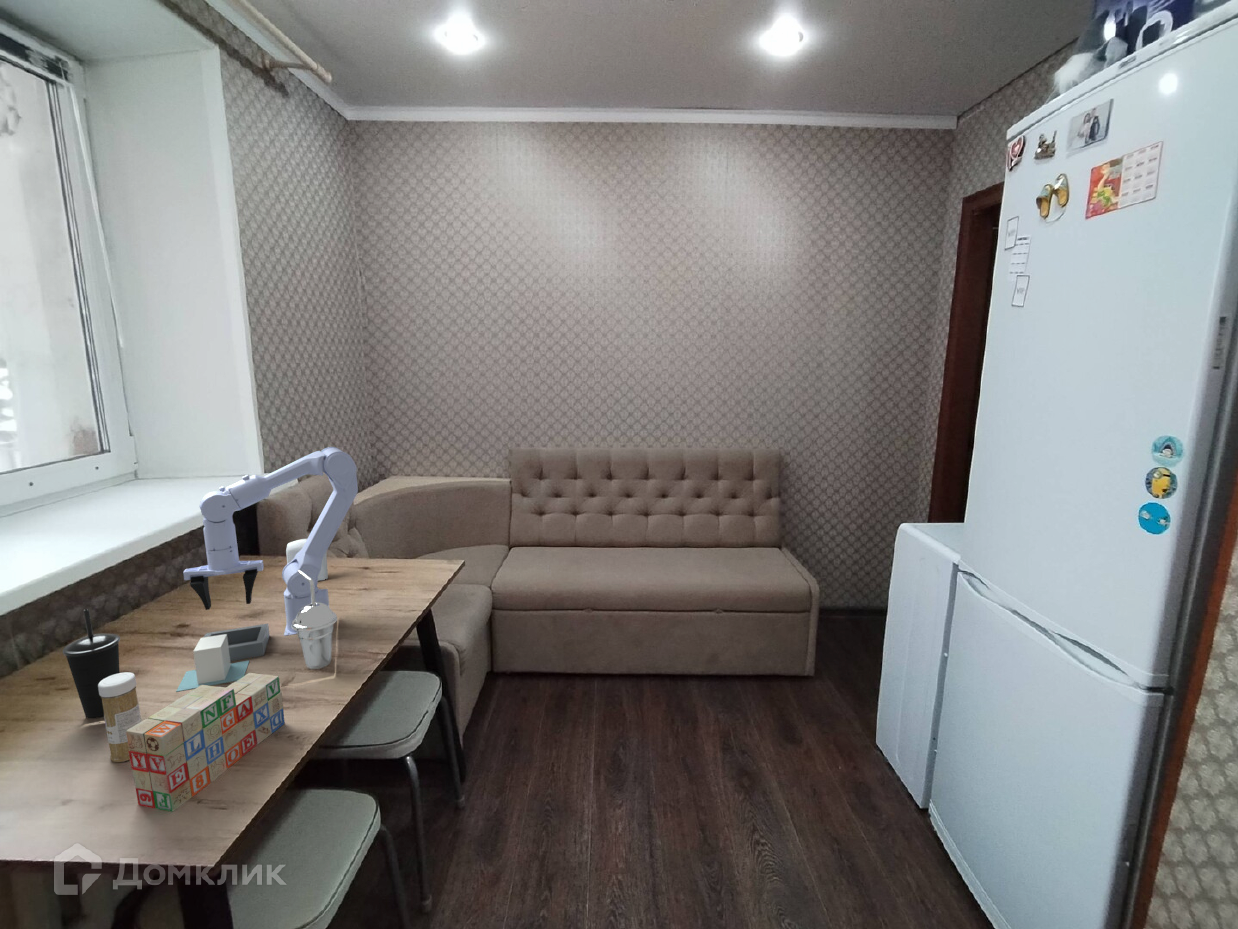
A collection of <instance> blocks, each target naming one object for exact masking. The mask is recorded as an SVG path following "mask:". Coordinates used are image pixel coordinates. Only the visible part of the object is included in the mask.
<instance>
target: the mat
mask: <svg viewBox="0 0 1238 929" xmlns="http://www.w3.org/2000/svg"><path fill="white" fill-rule="evenodd" d="M230 663H231V662H230ZM249 663H250V660H243V661H238V662H232V663H231V666H230V668H229V671H228V673H227V676H226V678H225V680H219V681H214V682H208V683H203V684H198V682H197V675H196V669H192V670H186V672H185V673H184V675H183V678H182V680H181V681H180V683H179V685H178V687H177V689H176V691H175V692H176V693H178V692H182V691H188V690H189V691H191V690H194V689H196V688H197V687H199V686H201V685H208V686H215V685H221V684H226V683H227V684H228V683H231V682H232V683H234V682H236V681H237V680H239V679H241V678H242V677H244V676H245V675H246V673H247V669H248V666H249Z"/></svg>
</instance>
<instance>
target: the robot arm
mask: <svg viewBox="0 0 1238 929" xmlns="http://www.w3.org/2000/svg"><path fill="white" fill-rule="evenodd" d="M357 470H358V467H357V464H356V462H354V459H353V458H352V456H351V455H350V454H349V453H347V452H345V451H342V449H340V448H338V447H336V446H329V447H325V448H324V449H321V451H320V450H317V451H313V452H312V453H310V454H309V453H308V454H307V455H305V456H302V457H300V458H298V459H297V460H295V461H293V462H291V463H289V464H287V465H285V466H282V467H280V468H279V469H277V470H274V471H272V472H271V473H268V474H267V475H258V474H252V475H250V476H249V474H246V475H243V476H241V479H240V480H238V481H237V482H234V483H233V484H231V485H228V486H226V487H225V486H224V485H222V486H220V487H219V488H218V491H216V490H215V491H211V492H208V493H206V494H205V495H204V496H202V499H201V500H200V504H199V509H200V512H201V515H202V516H203V519H202V523H203V524H202V525H203V526H204V527H203V529H202V531H203V537H204V545H205V551H206V552H205V553H206V559H207V564H206V565H201V566H198V567H190V568H186V569H184V570H183V580H184V581H190V582H189V586H190V587H191V588H192V590H194V591H195V593H196V595H197V596H199V598H200V600H201V602H202V604H203V605H204V609H205V610H206V611H208V610H210V609H211V607H212V601H211V596H210V586H209V577H216V576H223V575H224V576H225V575H231V574H239V573H243V575H242V580H243V584H244V589H245V602H246V605H250V604H251V603H252V595H253V594H252V593H253V588H254V585H255V581H256V578H257V575H258V573H259V572H262V571H264V568H265V567H264V560H263V559H262V560H261V559H259V560H240V557H239V550H238V547H239V546H238V543H237V542H238V541H237V540H238V539H237V534H236V525H235V523H234V519H233V514H234V513H235V511H237V512H238V511H241V510H243V509H245V508H248V507H250V506H252V505H255V504H256V503H259V502H260V501H263V500H265V499H267V498H268V497H269V496H270V493H271V491H272V490H273V489H276V488H278V487H280V486H282V485H285V484H288V483H290V482H292V481H294V480H297V479H299V478H302V477H304V476H306V475H310V476H311V475H315V476H324V474H325V475H326V476H327V478H328V480H329V482H330V485H331V486H332V489H333V491H332V492H331V494H330V496H329V498H328V500H327V501H326V504H325V505H324V507H323V509H322V511H321V513H320V515H319V516H318V519H317V520H316V522H315V524H314V526H313V528H312V529H311V532H310V533H309V535H308V537H307V538H306V539H307V540H306V542H305V544H304V546H303V548H302V549H301V550H300V551H299V552H298V553H297V554H296V555H295V557H294V559H293V560H292V561H291V562H290V563H288V564H287V563H286V565H285V566H284V567H283V568H282V572H281V577H282V580H283V581H284V583H285V585H286V587H285V588H286V589H285V590H284V592H283V599H284V601H283V602H284V610H285V619H286V626H285V629H284V633H283V636H285V637H286V636H293V635H297V631H295V630H293V629H292V622H293V620H294V619H295V618H296V616H297V614H298V612H299V610H300V609H301V608H302V607H304V606H305V605H307V604H309V603H312V600H311V590H310V582H309V581H308V580H307V579H306V578H304V577H303V576H302V575H300V574H299V573H298V570H301V571H303V572H304V573H305V574H306V575H308V576H309V577H310V578H312V580H313V582H314V592H315V602H320V603H324V604H326V605H327V606H328V607H329V608H330V599H329V591H328V588H319V587H318V583H319V581H318V575H319V572H320V570H321V565H322V559H323V557H324V555H325V553H326V554H327V552H328V549H329V547H330V546H331V544H332V541H333V540H334V538H335V536H336V535H337V533H338V531H339V528H340V527H341V525H342V523H343V522H344V519H345V517H346V515H347V513H348V511H349V510H350V508H351V506H352V505H353V502H354V501H355V498H356V497H357V495H358V493H359V492H358V491H359V488H358V486H359V485H358V477H357V476H358V475H357Z"/></svg>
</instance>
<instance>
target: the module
mask: <svg viewBox="0 0 1238 929" xmlns="http://www.w3.org/2000/svg"><path fill="white" fill-rule="evenodd" d="M192 652H193V660H194V668H195V670H196V675H197V682H198V684H203V683H208V682H214V681H219V680H225V678H226V676H227V673H228V671H229V668H230V666H231V661H230V655H229V647H228V639H227V634H224V635H217V636H211V637H204V636H203V637H200V639H199V640H198V642H197V644H196V646H195V648H194V649H193V651H192Z"/></svg>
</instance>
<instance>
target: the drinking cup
mask: <svg viewBox="0 0 1238 929" xmlns="http://www.w3.org/2000/svg"><path fill="white" fill-rule="evenodd" d="M83 614H84V621H85V626H86V632H87V633H86V634H87V635H86V636H83V637H81V638H78V639H76V640H75V641H73V642H71V643H68V644H67V645H66V646H64V647H63V649H62V654H63V655H64V656H66V660H67V663H68V666H69V667H68V668H69V669H70V672H71V673H70V674H72V675H71V676H72V679H73V682H74V684H75V687H76V688H75V689H76V691H77V694H78V698H79V701H80V703H81V707H82V710H83V712H84V716H85V718H86V719H99V718H104V710H103V703H102V698H101V696H100V695H99V690H98V684H99V682H100V681H102V680H103V679H105V678H107V677H109V676H111V675H114V674H118V673H121V671H120V650H119V649H120V648H119V645H120V644H119V643H120V640H121V636H120V635H118V634H116V633H94V632H93V627H92V622H91V615H90V609H89V608H86V609H83Z"/></svg>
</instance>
